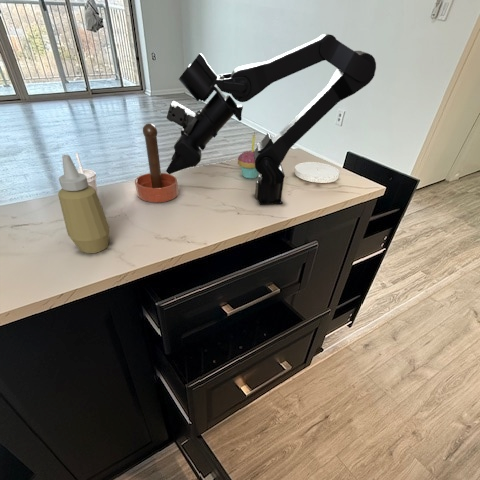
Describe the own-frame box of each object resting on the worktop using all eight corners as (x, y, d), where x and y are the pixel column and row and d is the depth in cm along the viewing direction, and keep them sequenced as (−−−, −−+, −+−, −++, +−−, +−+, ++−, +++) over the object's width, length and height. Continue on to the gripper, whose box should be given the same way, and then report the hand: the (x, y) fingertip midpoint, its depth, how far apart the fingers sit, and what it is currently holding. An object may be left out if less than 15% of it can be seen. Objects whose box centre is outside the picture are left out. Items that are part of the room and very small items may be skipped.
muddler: (168, 192, 88) (161, 123, 76) (159, 197, 85) (149, 126, 73) (157, 189, 89) (148, 120, 77) (147, 193, 86) (136, 123, 75)
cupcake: (239, 169, 104) (241, 128, 96) (264, 172, 104) (269, 131, 95) (235, 179, 98) (237, 136, 90) (262, 182, 98) (266, 139, 89)
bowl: (177, 186, 92) (175, 172, 89) (179, 202, 85) (178, 187, 82) (138, 187, 90) (135, 173, 87) (137, 204, 83) (134, 189, 80)
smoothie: (97, 222, 75) (79, 159, 65) (72, 218, 76) (51, 155, 66) (111, 210, 79) (96, 149, 70) (87, 207, 80) (69, 146, 70)
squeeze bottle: (79, 236, 70) (49, 147, 57) (117, 236, 71) (95, 149, 58) (68, 257, 64) (32, 163, 52) (109, 257, 65) (83, 164, 52)
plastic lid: (312, 189, 96) (314, 180, 94) (285, 173, 104) (286, 165, 102) (346, 182, 101) (348, 173, 99) (318, 167, 109) (319, 159, 108)
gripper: (190, 81, 77) (151, 130, 85) (180, 95, 64) (135, 153, 71) (222, 119, 83) (183, 162, 90) (219, 140, 70) (174, 189, 77)
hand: (170, 166), depth 82 cm, fingers open, 9 cm apart
